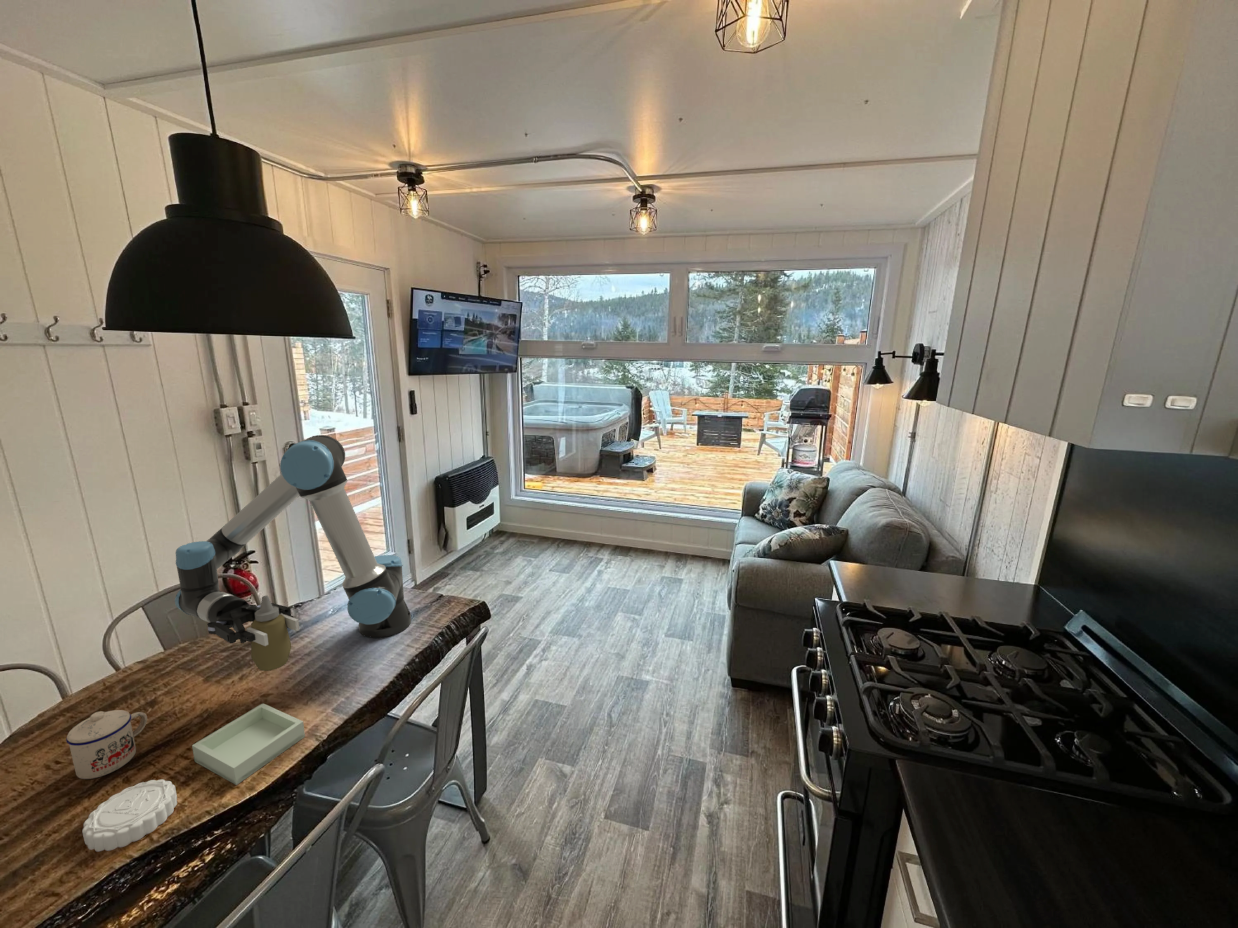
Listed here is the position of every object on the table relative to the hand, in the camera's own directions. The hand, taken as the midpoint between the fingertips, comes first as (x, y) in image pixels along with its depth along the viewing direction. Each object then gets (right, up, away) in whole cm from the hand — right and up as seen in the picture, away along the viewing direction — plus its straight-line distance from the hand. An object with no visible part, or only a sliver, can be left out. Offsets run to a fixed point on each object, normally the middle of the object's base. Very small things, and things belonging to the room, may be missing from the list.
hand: (282, 632), depth 113 cm
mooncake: (-10, -26, -25) cm, 37 cm away
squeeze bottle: (-5, -9, +4) cm, 11 cm away
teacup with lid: (-27, -22, -12) cm, 37 cm away
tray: (0, -22, -9) cm, 24 cm away
